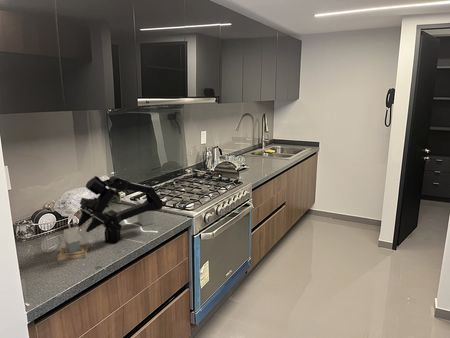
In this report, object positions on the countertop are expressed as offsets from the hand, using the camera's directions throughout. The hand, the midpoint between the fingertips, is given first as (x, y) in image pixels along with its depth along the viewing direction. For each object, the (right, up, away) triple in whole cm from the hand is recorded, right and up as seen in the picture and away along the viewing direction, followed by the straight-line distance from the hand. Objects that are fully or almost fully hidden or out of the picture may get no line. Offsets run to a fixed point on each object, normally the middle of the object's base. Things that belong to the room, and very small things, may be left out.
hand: (82, 228), depth 152 cm
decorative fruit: (-15, -4, +33) cm, 36 cm away
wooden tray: (-3, -11, -1) cm, 11 cm away
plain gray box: (-3, -9, -2) cm, 10 cm away
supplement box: (+21, -3, +34) cm, 40 cm away
